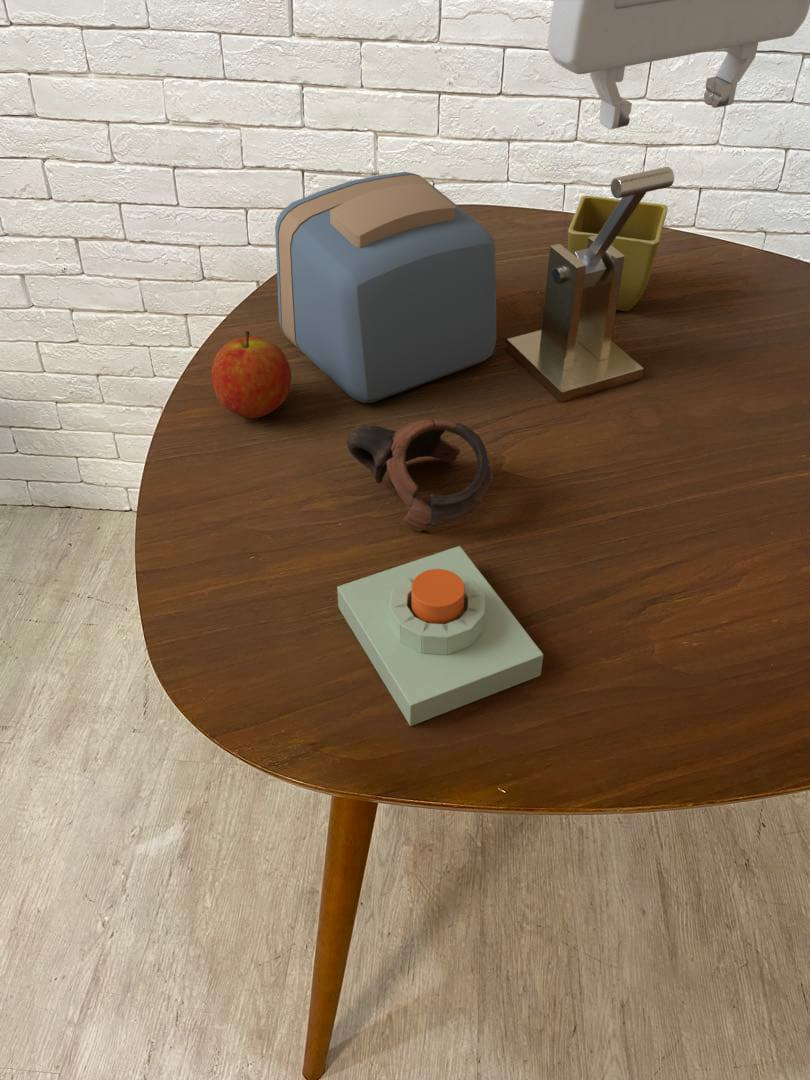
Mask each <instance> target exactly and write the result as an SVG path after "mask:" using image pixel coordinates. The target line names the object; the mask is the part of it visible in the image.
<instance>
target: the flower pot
mask: <svg viewBox="0 0 810 1080" xmlns="http://www.w3.org/2000/svg"><path fill="white" fill-rule="evenodd" d="M620 200H621V199H618V198H610V197H603V196H596V195H582V196H581V197H580V200H579V202H578V205H577V207H576V210H575V213H574V215H573V217H572V220H571V222H570V225H569V227H568V230H567V242H568V243H567V248H568V249H567V250H568V251H569V252H571V253H572V254H574V252H575V251H579V250H584V249H587V244H588V237H590V236H595V235H598V234H599V232H600V231H601V229H602V228H603V226H604V225H605V223H606V222H607V220H608V219H609V217H610V215H611V214H612V212H613V211H614V209H615V208H616V206H617V205H618V203H619V202H620ZM668 210H669V209H668V206H667V205H666V204H661V203H655V202H654V203H653V202H645V201H640V203H639V204H638V206H637V207H636V208H635V210H634V211H633V213H632V214H631V216H630V217H629V219H628V220H627V222H626V223H625V225H624V226H623V228H622V229H621V231H620V232H619V233H618V235H617V236H616V238H615V239H614V241H613V242H612V244H611V246H613V247H614V248H615V249H617V250H618V251H619V252H621V253H622V254H623V255H625V257H624V264H623V270H622V276H621V283H620V289H619V295H618V302H617V308H616V311H621V312H629V311H631V310H632V308H634V306H636V305H637V303H638V302H639V300H640V299H641V298H642V296H643V294H644V292H645V290H646V288H647V285H648V284H649V280H650V277H651V274H652V269H653V265H654V261H655V258H656V254H657V250H658V248H659V244H660V241H661V240H660V239H661V236H662V232H663V228H664V225H665V222H666V218H667V213H668Z"/></svg>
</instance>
